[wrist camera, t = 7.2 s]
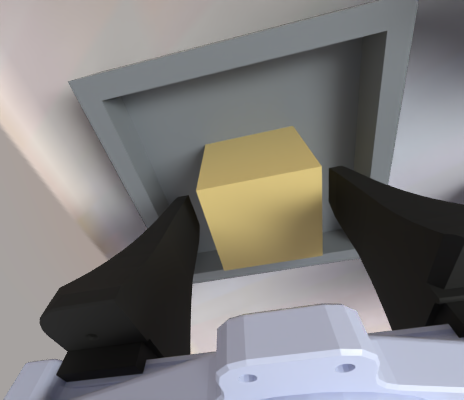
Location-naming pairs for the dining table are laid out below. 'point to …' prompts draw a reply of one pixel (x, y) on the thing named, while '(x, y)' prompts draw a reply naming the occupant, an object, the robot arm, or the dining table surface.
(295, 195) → the mustard block
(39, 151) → the dining table surface
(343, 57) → the tray
